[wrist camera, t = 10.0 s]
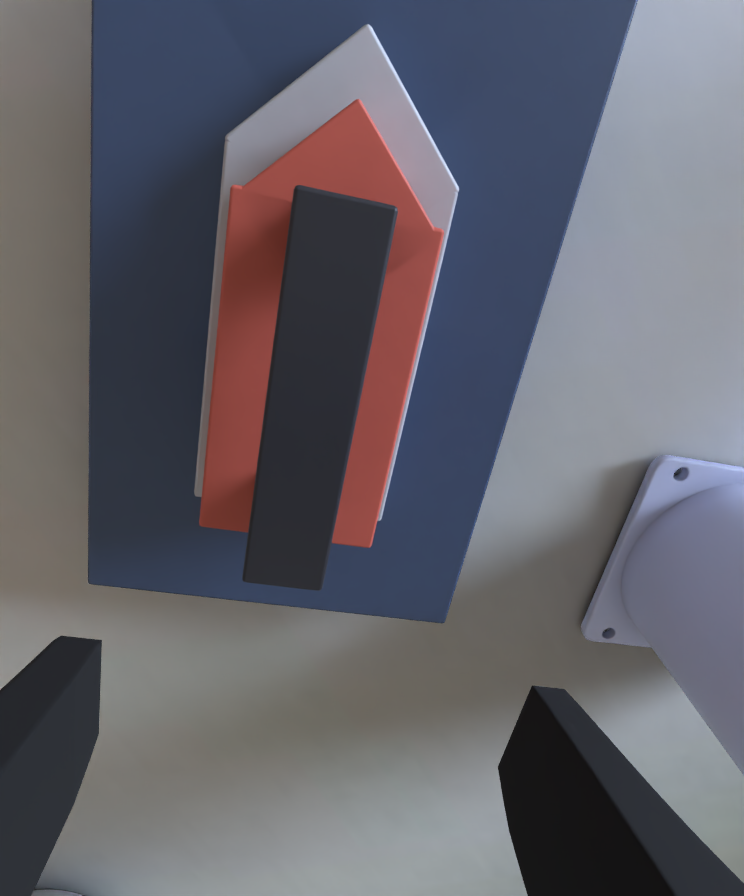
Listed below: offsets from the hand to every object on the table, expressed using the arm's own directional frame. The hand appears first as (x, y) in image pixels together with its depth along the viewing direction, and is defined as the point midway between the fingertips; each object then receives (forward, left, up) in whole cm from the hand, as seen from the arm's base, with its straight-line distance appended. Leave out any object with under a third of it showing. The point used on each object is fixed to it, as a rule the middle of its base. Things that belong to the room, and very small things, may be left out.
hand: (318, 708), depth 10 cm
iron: (+1, -5, -7) cm, 9 cm away
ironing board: (+1, -7, -10) cm, 13 cm away
